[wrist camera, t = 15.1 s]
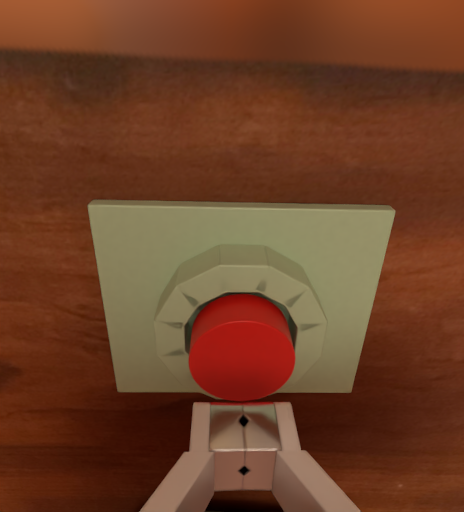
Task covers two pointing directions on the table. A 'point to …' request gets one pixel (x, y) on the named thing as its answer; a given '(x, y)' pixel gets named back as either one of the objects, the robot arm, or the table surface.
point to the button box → (236, 282)
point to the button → (241, 348)
